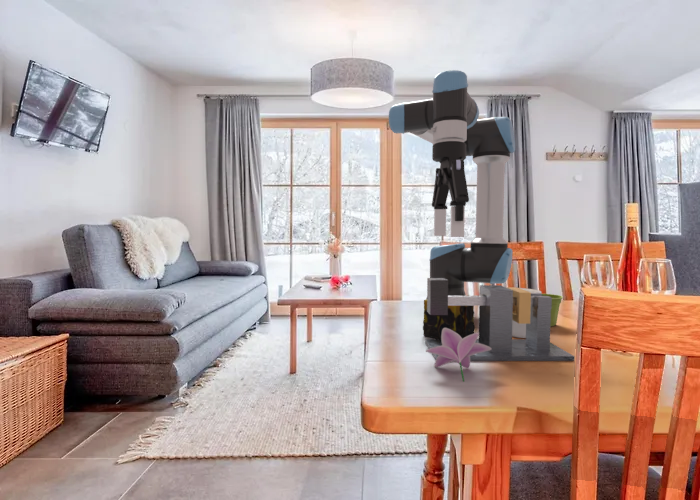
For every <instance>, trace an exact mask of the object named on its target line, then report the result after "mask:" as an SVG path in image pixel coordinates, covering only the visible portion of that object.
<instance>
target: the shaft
mask: <svg viewBox="0 0 700 500" xmlns="http://www.w3.org/2000/svg"><path fill="white" fill-rule="evenodd" d="M426 285H427V286H426V287H427V289H426V290H427V291H426V293H427V295H426V298H427V312H428V313H429V314H430V315H448V306H474V307H475V306H476V307H479V306H486V297H487V296H479V295H466V296H448V280H447V279H445V278H430V277H427V284H426ZM534 298H535V296H531V306H534ZM513 306H517V298H516V297H513Z"/></svg>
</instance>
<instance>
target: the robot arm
mask: <svg viewBox="0 0 700 500" xmlns="http://www.w3.org/2000/svg"><path fill="white" fill-rule="evenodd" d="M432 85H433V86H432V91H431V92H432V98H429V99H422V100H415V101H410V102H408V101H407V102H402V103H398V104H393V105H392V106H391V107H390V108H389V111H388V124H389V128H390V130H391V131H392V132H393V133H394V134H403V135H404V134H407V133H409V134H412V135H415V136H417V137H419V138H420V139H423V140H424V141H427V142H429V143H431V144H432V153H431V154H432V155H431V157H432V161H433V162H436V163H440V167H438V168H436V169H435V180H434V185H433V186H434V187H433V188H434V189H433V195H432V201H431V202H432V203H431V207H432V208H433V209H434V218H433V219H434V221H433V222H434V223H433V228H434V229H433V236H434V237H435V236H436V237H446V236H447V210H448V206H447V199H448V196H449V194H450V199H451V201H450V202H449V206H450V238H465V211H466V210H465V208H466V207H465V206H466V205H467V203H469V201H470V198H469V192H468V191H469V190H468V185H467V179H466V172H465V160H466V159H467V157H472V162H473V163H475V165H476V202H475V203H476V205H475V208H476V209H475V237H474V239H473V240H471V241H470V247H466V245H465V243H453V244H452V243H451V244H444V245H436V246H433V247H431V249H430V252H429V253H430V255H429V278H445V279H447V280H448V296H467V295H466V292H465V283H476V284H477V283H480V284H482V283H483V284H490V285H495V284H499V285H501V284H506V282H507V280H509V277H510V272H511V269H512V263H513V249H512V248H510V247H508V241H507V240H506V239H504V209H505V208H504V207H505V206H504V200H505V170H506V169H505V167H506V166H505V165H506V163H508V162H509V160H510V159H511V154H513V153H515V152H516V139H515V131H514V128H513V127H514V126H513V123H512V122H513V121H512V120H511V119H510V117H508V116H493V117H486V118H479V116H480V109H479V107H478V104H477V102H476V101H475V99H474V98H473V97H471V96H470V94H469V92H468V87H469V84H468V75H467V73H465V72H464V71H462V70H458V69H457V70H456V69H455V70H454V69H453V70H450V69H449V70H444V71H441V72H438V74H436V75H435V76H434V78H433V83H432ZM426 299H427V297H426ZM426 299H425V300H426Z"/></svg>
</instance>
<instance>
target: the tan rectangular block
mask: <svg viewBox="0 0 700 500" xmlns="http://www.w3.org/2000/svg"><path fill="white" fill-rule="evenodd" d="M506 288H508V289H511V290H513V297H516V298H517V306H513V313H512V320H514V321H515V322H517V323H519V324H530V311H531V292H528V291H525V290H523V289H520V288H521V287H515V286H513V287H506Z"/></svg>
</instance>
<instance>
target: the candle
mask: <svg viewBox="0 0 700 500" xmlns="http://www.w3.org/2000/svg"><path fill="white" fill-rule="evenodd" d="M474 309H475V306H448V315H430V314H429V313H428V312H427V299H424V300H423V320H422V321H423V322H422V330H423V336H424V337H426V338H429V339H430V338H431V339H441V334H442V329H443V328H448V329H451V330H453V331H454V332H456V333H457V334H459V335H460V336H461V337H462V339H463V338H464V337H466V336H469V335H471V334H474V333H475V328H476V327H475V310H474Z"/></svg>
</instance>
